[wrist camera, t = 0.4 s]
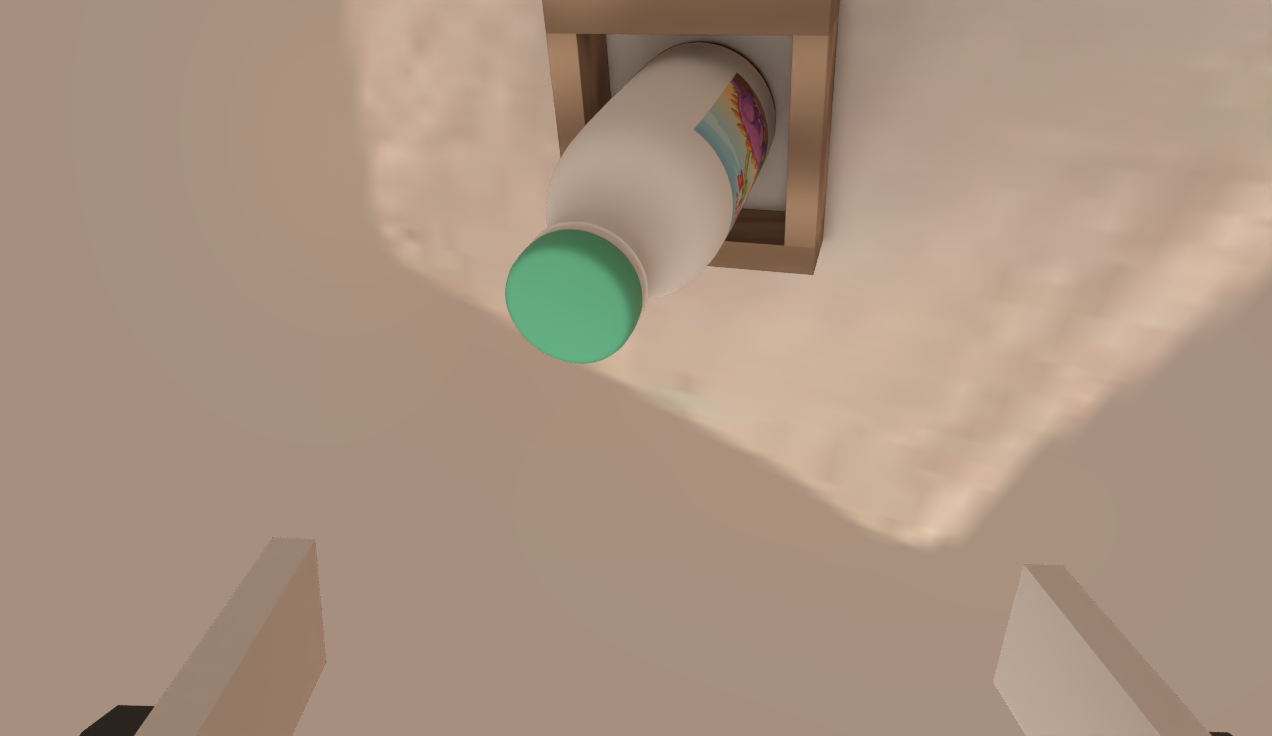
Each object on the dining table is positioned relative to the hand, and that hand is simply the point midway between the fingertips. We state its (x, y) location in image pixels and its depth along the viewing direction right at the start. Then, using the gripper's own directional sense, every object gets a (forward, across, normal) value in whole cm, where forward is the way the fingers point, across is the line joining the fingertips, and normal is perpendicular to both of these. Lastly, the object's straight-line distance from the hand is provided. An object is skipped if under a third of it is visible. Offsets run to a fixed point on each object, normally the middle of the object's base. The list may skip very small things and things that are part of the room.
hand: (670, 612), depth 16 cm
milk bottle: (+32, +3, +7) cm, 33 cm away
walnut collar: (+32, +3, +7) cm, 33 cm away
